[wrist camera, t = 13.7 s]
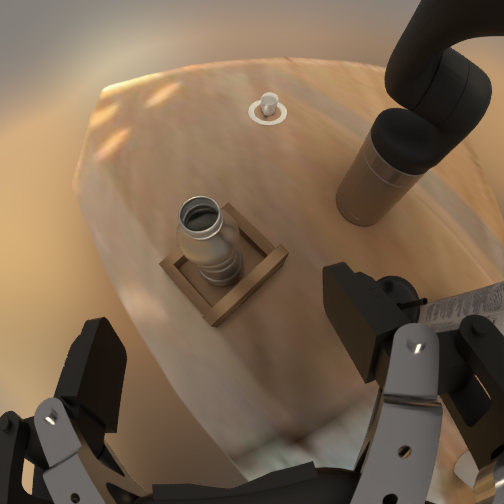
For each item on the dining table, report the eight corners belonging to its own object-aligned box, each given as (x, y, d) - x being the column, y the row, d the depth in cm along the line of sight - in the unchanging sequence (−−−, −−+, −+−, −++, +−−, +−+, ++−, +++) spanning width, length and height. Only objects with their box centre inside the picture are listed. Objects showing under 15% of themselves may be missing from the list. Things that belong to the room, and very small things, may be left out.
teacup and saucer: (265, 94, 55) (266, 81, 51) (296, 109, 54) (298, 96, 50) (240, 115, 53) (239, 102, 49) (272, 132, 52) (273, 119, 48)
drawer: (230, 212, 46) (226, 193, 40) (283, 264, 44) (288, 252, 37) (165, 269, 43) (152, 258, 37) (216, 327, 41) (210, 326, 35)
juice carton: (395, 353, 39) (523, 356, 14) (418, 298, 42) (539, 256, 16) (429, 372, 38) (551, 381, 12) (450, 319, 41) (566, 293, 15)
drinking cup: (322, 307, 42) (377, 284, 23) (362, 284, 43) (432, 248, 24) (344, 349, 40) (411, 358, 21) (382, 325, 41) (462, 314, 22)
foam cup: (445, 487, 30) (479, 507, 17) (451, 455, 32) (489, 472, 20) (475, 469, 30) (509, 483, 18) (481, 437, 33) (519, 448, 20)
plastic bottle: (243, 290, 42) (236, 251, 23) (198, 287, 42) (156, 248, 23) (245, 248, 44) (241, 182, 25) (202, 246, 44) (168, 181, 25)
